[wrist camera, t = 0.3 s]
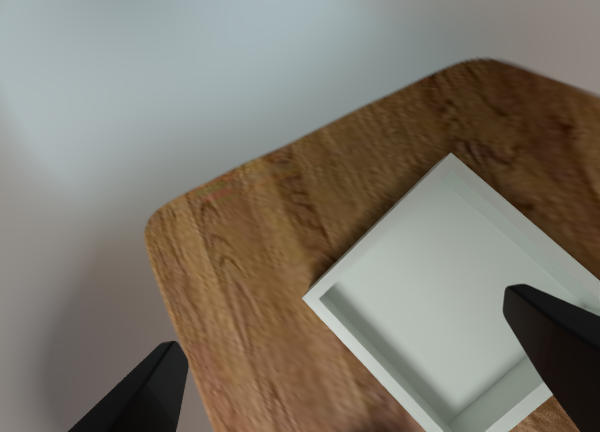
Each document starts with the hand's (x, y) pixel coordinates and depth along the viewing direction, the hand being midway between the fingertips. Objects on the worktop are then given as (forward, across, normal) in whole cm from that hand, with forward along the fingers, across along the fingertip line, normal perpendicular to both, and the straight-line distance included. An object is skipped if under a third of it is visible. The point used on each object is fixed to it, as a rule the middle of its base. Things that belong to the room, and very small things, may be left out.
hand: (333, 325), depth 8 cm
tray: (+10, -7, +10) cm, 16 cm away
